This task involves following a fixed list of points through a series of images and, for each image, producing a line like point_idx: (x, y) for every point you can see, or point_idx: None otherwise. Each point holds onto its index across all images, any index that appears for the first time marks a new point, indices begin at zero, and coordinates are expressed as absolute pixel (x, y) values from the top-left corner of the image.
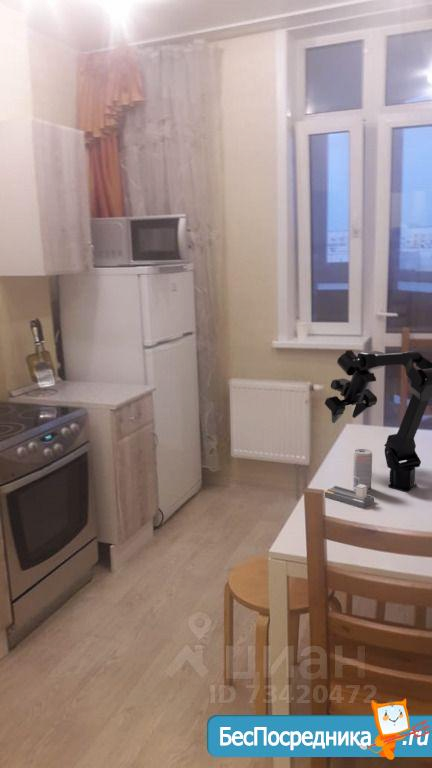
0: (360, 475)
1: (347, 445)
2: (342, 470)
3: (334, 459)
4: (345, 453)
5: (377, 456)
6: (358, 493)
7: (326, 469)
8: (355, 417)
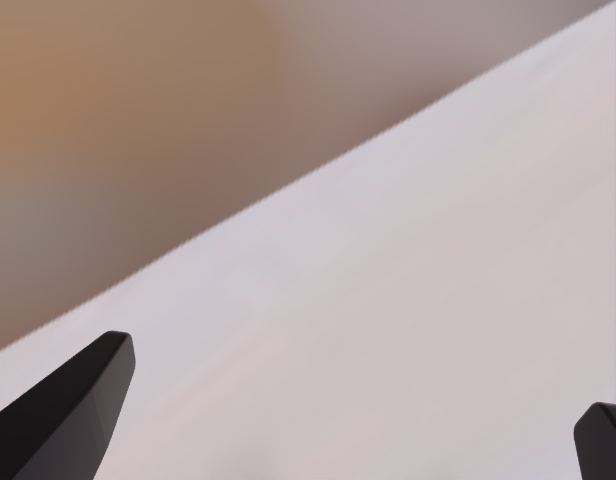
0: None
1: (606, 70)
2: (159, 386)
3: (284, 216)
4: (441, 183)
5: (537, 364)
6: None
7: (94, 311)
8: (594, 457)
